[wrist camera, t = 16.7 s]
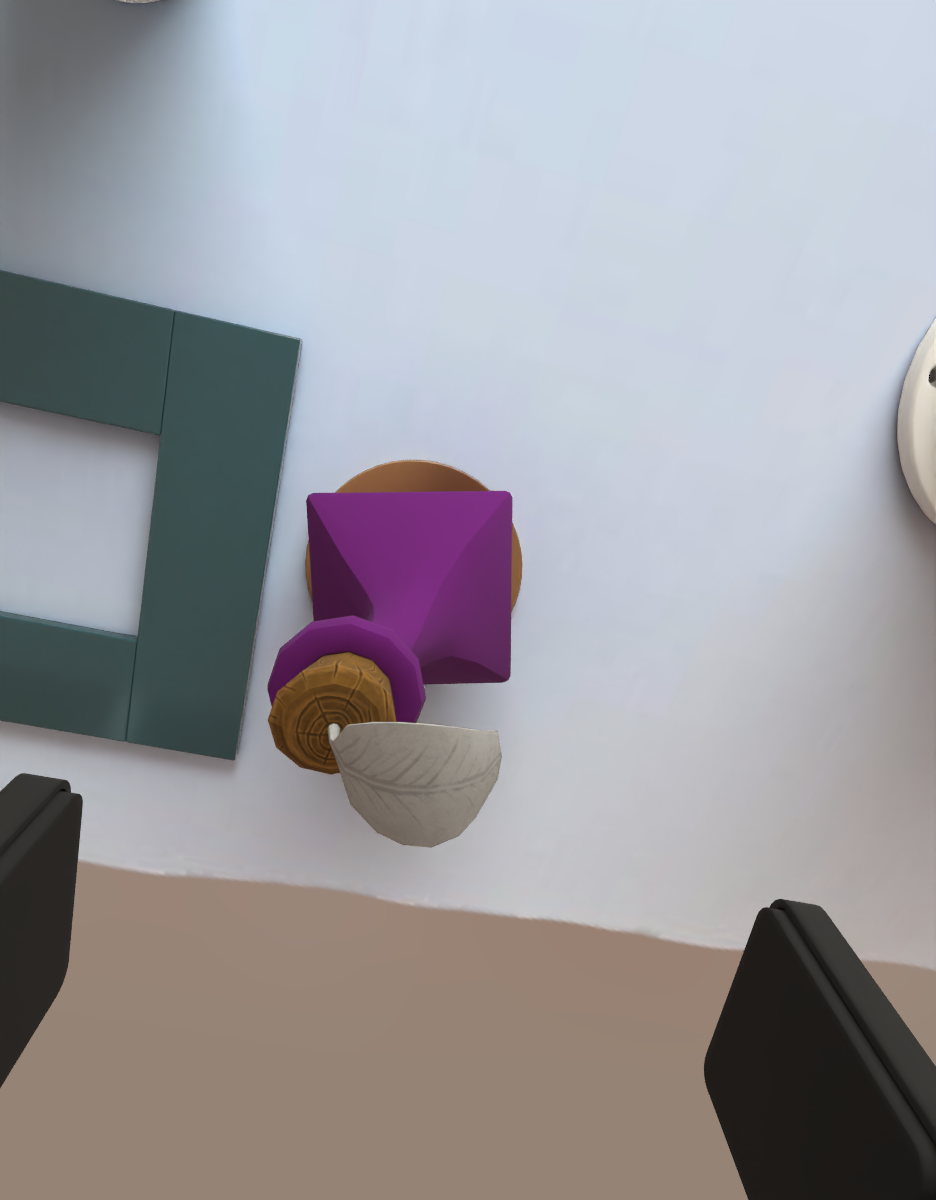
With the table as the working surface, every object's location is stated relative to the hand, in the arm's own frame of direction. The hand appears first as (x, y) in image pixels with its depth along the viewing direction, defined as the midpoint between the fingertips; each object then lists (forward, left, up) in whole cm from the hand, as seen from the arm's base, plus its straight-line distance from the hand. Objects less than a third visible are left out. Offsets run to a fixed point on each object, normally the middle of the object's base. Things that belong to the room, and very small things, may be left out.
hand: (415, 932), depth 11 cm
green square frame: (+15, +2, -23) cm, 28 cm away
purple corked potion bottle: (0, +1, -23) cm, 23 cm away
